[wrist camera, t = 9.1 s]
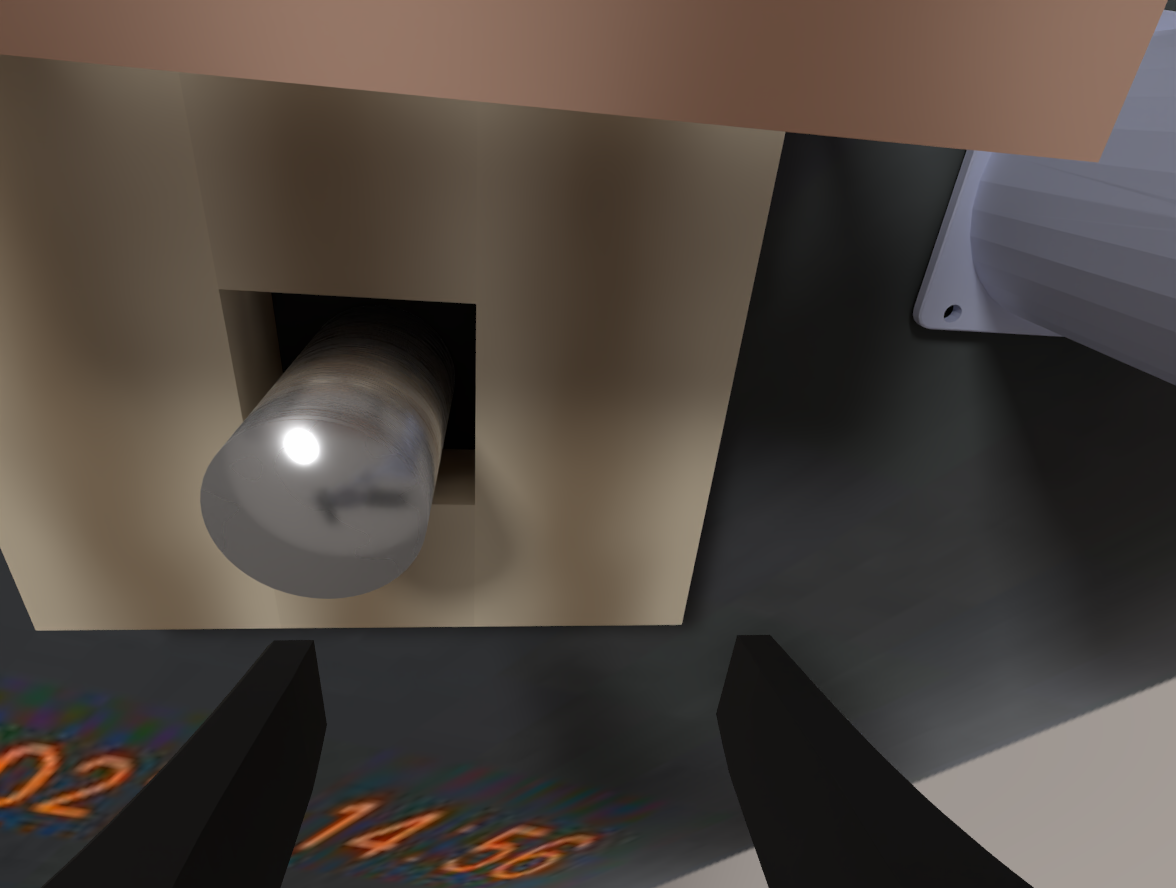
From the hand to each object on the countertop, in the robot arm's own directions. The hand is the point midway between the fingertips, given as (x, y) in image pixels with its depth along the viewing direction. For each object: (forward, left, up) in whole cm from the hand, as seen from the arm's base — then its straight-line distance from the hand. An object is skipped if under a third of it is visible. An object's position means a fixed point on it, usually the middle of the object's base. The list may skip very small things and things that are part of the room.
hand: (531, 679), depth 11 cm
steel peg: (+4, -2, -9) cm, 10 cm away
